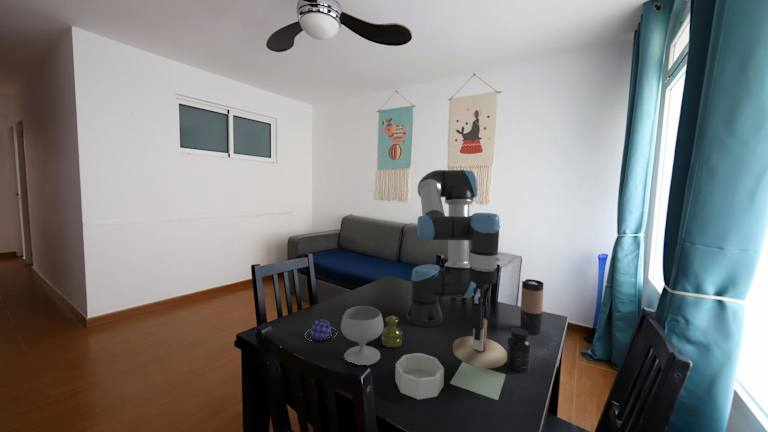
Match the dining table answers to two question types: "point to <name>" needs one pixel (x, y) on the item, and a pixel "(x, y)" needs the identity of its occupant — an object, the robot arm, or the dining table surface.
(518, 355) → the supplement bottle
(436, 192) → the robot arm
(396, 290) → the dining table surface
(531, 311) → the travel mug
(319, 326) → the purple plaid hat
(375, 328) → the chalice
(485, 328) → the lid
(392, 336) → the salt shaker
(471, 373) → the mat
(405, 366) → the bowl
